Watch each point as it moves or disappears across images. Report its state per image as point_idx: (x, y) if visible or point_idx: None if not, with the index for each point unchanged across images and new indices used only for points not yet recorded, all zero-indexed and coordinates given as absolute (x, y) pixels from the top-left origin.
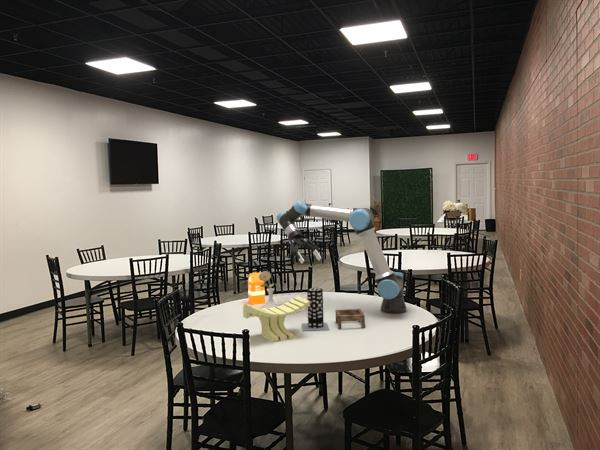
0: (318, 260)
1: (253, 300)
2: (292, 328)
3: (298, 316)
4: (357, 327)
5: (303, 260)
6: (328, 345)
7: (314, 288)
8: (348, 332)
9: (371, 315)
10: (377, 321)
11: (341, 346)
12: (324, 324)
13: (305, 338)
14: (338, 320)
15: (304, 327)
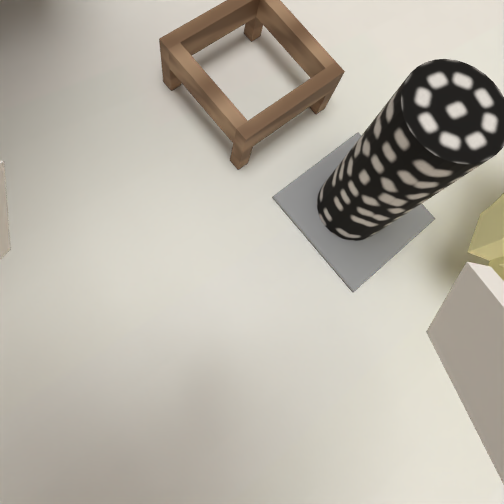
0: (5, 248)
1: None
2: (429, 285)
3: (242, 404)
4: (259, 56)
5: (492, 270)
6: (497, 53)
7: (432, 129)
8: (338, 58)
9: (37, 80)
10: (130, 20)
11: (478, 15)
12: (308, 187)
13: (493, 157)
14: (336, 84)
15: (397, 238)
